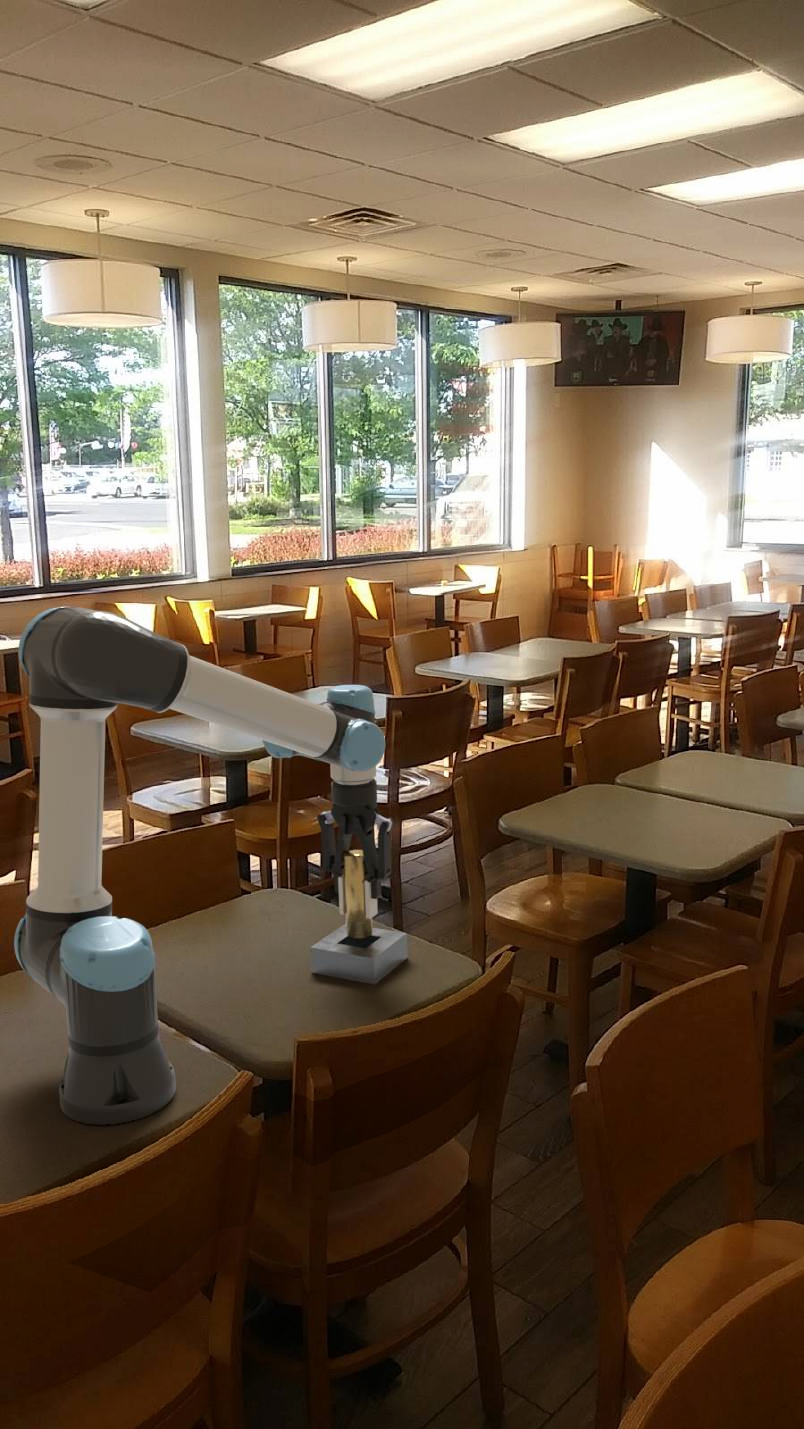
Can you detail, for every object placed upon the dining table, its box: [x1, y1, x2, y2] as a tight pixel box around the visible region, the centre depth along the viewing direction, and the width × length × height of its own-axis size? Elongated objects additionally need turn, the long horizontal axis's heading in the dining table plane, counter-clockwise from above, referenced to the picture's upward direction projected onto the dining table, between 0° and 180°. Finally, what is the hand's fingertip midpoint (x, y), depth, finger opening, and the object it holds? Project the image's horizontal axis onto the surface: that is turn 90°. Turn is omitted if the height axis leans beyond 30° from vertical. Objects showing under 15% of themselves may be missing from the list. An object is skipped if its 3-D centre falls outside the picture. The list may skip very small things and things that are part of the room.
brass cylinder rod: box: [343, 849, 373, 938], centre depth 192 cm, size 4×4×14 cm
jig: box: [310, 922, 408, 985], centre depth 194 cm, size 12×12×4 cm
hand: (358, 913), depth 193 cm, fingers closed on brass cylinder rod, 4 cm apart
